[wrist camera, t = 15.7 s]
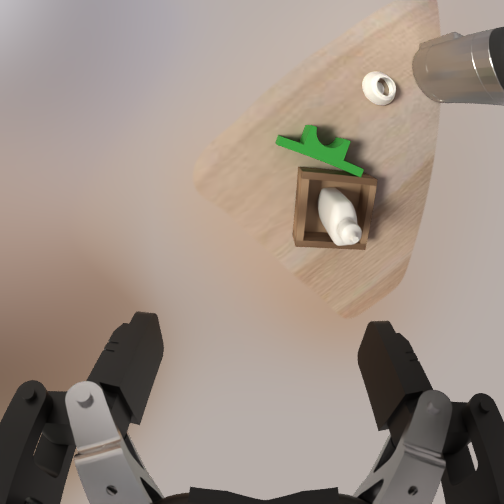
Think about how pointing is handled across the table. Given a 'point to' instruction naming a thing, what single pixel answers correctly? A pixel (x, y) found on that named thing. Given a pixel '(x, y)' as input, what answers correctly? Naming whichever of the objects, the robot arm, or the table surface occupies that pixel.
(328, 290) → the table surface
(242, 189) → the table surface
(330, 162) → the pipe clamp
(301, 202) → the box
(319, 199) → the eye dropper bottle
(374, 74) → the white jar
